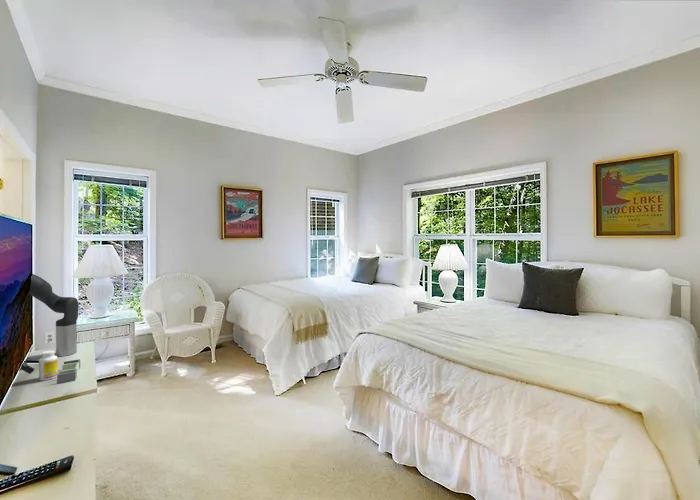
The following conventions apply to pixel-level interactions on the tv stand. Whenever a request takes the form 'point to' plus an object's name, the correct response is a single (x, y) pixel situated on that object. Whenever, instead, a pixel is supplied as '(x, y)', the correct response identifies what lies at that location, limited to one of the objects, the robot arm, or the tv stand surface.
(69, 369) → the bay rack
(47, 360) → the supplement bottle
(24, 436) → the tv stand surface
